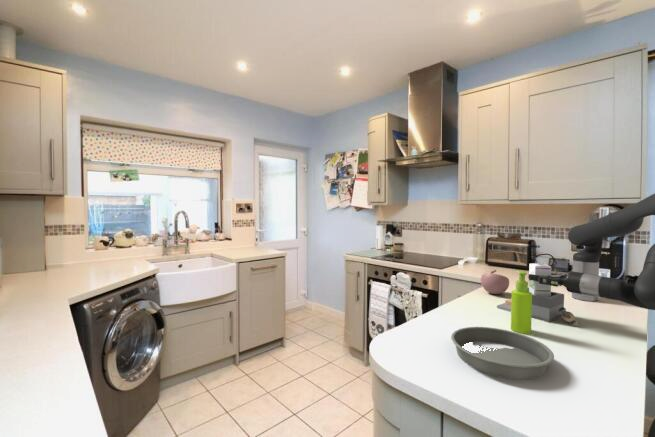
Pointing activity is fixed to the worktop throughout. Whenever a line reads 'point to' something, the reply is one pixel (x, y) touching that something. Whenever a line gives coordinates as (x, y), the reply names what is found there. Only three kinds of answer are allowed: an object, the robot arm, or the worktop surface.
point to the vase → (568, 316)
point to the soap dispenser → (521, 306)
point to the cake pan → (504, 353)
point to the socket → (542, 306)
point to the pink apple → (494, 283)
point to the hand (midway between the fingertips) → (534, 275)
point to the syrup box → (534, 285)
